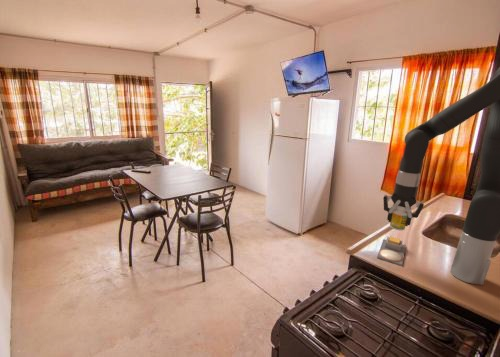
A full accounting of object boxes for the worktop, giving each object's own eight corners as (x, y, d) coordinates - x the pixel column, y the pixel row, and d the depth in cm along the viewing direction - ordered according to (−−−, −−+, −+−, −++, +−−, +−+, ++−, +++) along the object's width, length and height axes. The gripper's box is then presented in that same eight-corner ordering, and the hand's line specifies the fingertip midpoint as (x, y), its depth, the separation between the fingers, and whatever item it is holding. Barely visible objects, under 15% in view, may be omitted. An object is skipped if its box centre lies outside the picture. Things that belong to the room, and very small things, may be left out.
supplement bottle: (394, 223, 107) (398, 202, 104) (407, 229, 103) (412, 206, 100) (386, 226, 104) (391, 204, 101) (400, 232, 100) (405, 209, 97)
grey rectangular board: (405, 246, 115) (406, 240, 115) (401, 265, 101) (403, 259, 100) (383, 240, 120) (384, 234, 119) (376, 257, 106) (378, 251, 105)
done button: (399, 243, 114) (400, 239, 114) (398, 246, 111) (399, 242, 110) (389, 240, 116) (390, 236, 116) (388, 243, 113) (389, 239, 112)
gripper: (384, 181, 99) (376, 221, 104) (429, 189, 91) (418, 232, 96) (387, 177, 105) (379, 215, 110) (429, 184, 97) (419, 225, 102)
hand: (398, 223), depth 103 cm, fingers closed on supplement bottle, 5 cm apart
